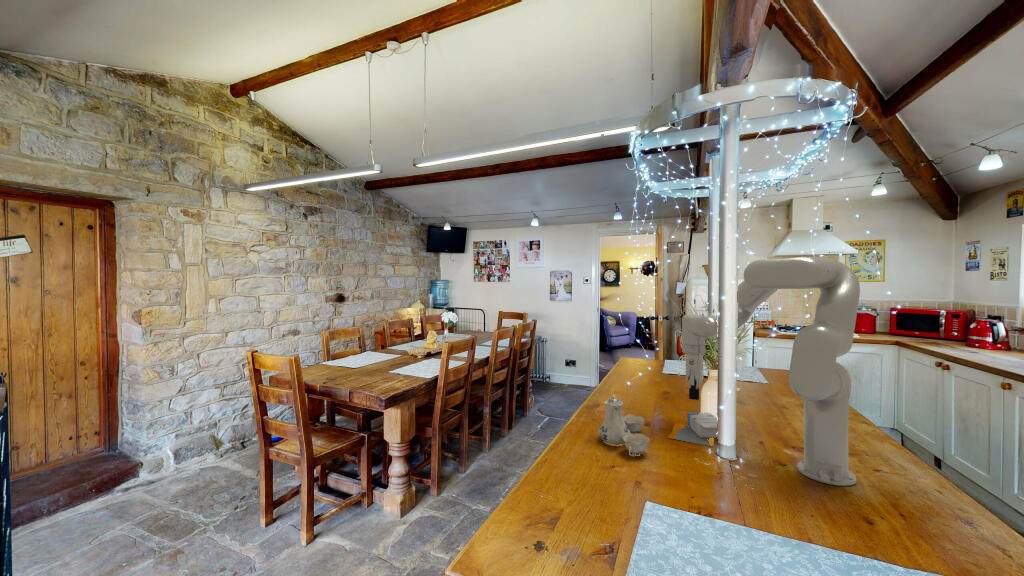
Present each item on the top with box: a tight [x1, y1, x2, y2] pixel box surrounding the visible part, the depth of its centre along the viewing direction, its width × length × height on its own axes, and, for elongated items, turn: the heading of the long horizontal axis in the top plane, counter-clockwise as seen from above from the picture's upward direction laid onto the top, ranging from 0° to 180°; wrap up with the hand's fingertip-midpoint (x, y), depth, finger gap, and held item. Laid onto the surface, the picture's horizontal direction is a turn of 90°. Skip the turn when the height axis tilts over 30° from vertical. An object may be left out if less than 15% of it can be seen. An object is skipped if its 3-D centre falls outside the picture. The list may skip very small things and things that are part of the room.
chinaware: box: [597, 394, 652, 457], centre depth 130 cm, size 28×17×17 cm, turn 172°
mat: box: [675, 425, 710, 447], centre depth 135 cm, size 16×14×1 cm
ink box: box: [686, 412, 718, 439], centre depth 135 cm, size 9×5×15 cm
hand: (694, 398), depth 140 cm, fingers closed
